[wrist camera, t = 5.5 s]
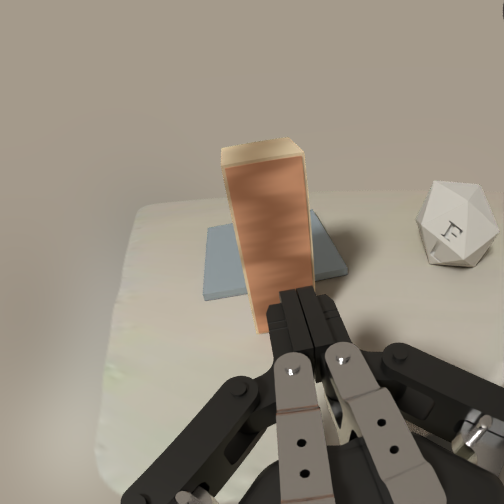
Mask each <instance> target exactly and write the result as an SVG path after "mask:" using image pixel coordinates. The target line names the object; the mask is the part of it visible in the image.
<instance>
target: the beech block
mask: <svg viewBox="0 0 504 504" xmlns="http://www.w3.org/2000/svg"><path fill="white" fill-rule="evenodd" d="M221 168H222V173H223V178H224V183H225V188H226V193H227V198H228V203H229V207H230V212H231V217H232V222H233V227H234V231H235V236H236V241H237V246H238V250H239V255H240V260H241V264H242V269H243V274H244V278H245V283H246V288H247V292H248V297H249V302H250V306H251V311H252V315H253V320H254V324H255V329H256V333H257V334H262V333H268V332H269V329H268V323H267V317H266V312H267V310H268V307H269V305H272V304H278V303H280V299H279V291H284V290H290V289H295V290H296V288H300V287H305V286H310V285H312V286H313V288H314V291H315V275H314V258H313V243H312V230H311V217H310V205H309V194H308V184H307V174H306V164H305V155H304V151H303V150H301V148H299V147H298V146H297V145H296V144H295V143H294V142H293V141H292V140H291V139H290V138H289V137H285V138H278V139H272V140H265V141H259V142H253V143H247V144H241V145H235V146H230V147H225V148H222V149H221Z"/></svg>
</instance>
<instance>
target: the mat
mask: <svg viewBox="0 0 504 504" xmlns="http://www.w3.org/2000/svg"><path fill="white" fill-rule="evenodd" d="M310 217H311V230H312V243H313V258H314V275H315V281H318V280H323V279H328V278H333V277H338V276H343V275H347V271H348V268H347V266H346V264H345V263H344V261H343V259H342V257H341V256H340V254H339V252H338V251H337V249H336V247H335V246H334V244H333V242H332V241H331V239H330V237H329V236H328V234H327V232H326V231H325V229H324V227H323V226H322V224H321V223H320V221H319V219H318V218H317V216H316V215H315V213H314V211H313V210H312V209H311V210H310ZM243 294H248V292H247V288H246V283H245V278H244V274H243V269H242V264H241V260H240V255H239V250H238V246H237V241H236V236H235V231H234V227H233V223H232V224H226V225H221V226H216V227H210V228H208V232H207V244H206V257H205V270H204V285H203V296H204V300H205V301H207V300H213V299H219V298H225V297H231V296H237V295H243Z"/></svg>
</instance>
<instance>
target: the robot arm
mask: <svg viewBox="0 0 504 504" xmlns="http://www.w3.org/2000/svg"><path fill="white" fill-rule="evenodd" d="M503 17H504V4H503ZM279 299H280V303H278V304H272V305H269V307H268V310H267V312H266V317H267V323H268V329H269V334H270V340H271V346H272V351H273V357H274V361H273V365H272V367H271V368H270V369H269V370H268V371H267V372H266V373H265V374H263V375H261V376H259V377H257V378H255V379H251V378H249V377H246V376H236V377H233V378H230V379H229V380H227V381H226V382H225V383H224V384H223V385H222V386H221V387H220V389H219V390H218V391H217V392H216V393H215V394H214V396H213V397H212V398H211V399H210V400H209V401H208V403H207V404H206V405H205V406H204V407H203V408H202V410H201V411H200V412H199V413H198V414H197V415H196V416H195V417H194V419H193V420H192V421H191V422H190V423H189V424H188V425H187V427H186V428H185V429H184V430H183V431H182V432H181V433H180V434H179V435H178V437H177V438H176V439H175V440H174V441H173V442H172V443H171V444H170V445H169V446H168V447H167V449H166V450H165V451H164V452H163V453H162V454H161V455H160V456H159V457H158V458H157V459H156V460H155V461H154V462H153V464H152V465H151V466H150V467H149V468H148V469H147V470H146V471H145V472H144V473H143V474H142V475H141V476H140V477H139V478H138V479H137V480H136V481H135V482H134V483H133V484H132V485H131V486H130V487H129V488H128V489H127V490H126V491H125V493H124V494H123V496H122V498H121V504H219V503H218V501H217V500H216V499H215V498H214V497H215V496H216V495H217V493H218V492H219V491H220V490H221V489H222V487H223V486H224V485H225V484H226V482H227V481H228V480H229V479H230V477H231V476H232V475H233V474H234V472H235V471H236V470H237V468H238V467H239V466H240V465H241V463H242V462H243V461H244V459H245V458H246V457H247V455H248V454H249V453H250V451H251V450H252V449H253V447H254V446H255V445H256V443H257V442H258V441H259V439H260V438H261V436H262V435H263V434H264V432H265V431H266V429H267V427H269V426H271V425H273V424H275V423H276V424H277V440H278V456H279V460H277V461H275V462H274V463H272V464H271V465H269V466H268V467H267V468H265V469H264V470H263V471H262V472H261V473H260V474H259V475H258V477H257V478H256V479H255V481H254V482H253V484H252V485H251V487H250V488H249V489H248V491H247V492H246V494H245V495H244V496H243V498H242V499H241V501H240V502H239V503H238V504H504V486H503V484H502V482H501V480H500V479H499V478H498V476H499V474H500V472H501V469H502V467H503V465H504V388H503V387H501V386H498V385H496V384H494V383H491V382H489V381H487V380H485V379H482V378H480V377H478V376H476V375H474V374H471V373H469V372H467V371H465V370H462V369H460V368H458V367H456V366H454V365H451V364H449V363H447V362H445V361H442V360H440V359H438V358H436V357H434V356H431V355H429V354H427V353H425V352H423V351H421V350H418V349H416V348H414V347H412V346H410V345H407V344H405V343H393V344H390V345H389V346H387V347H386V348H385V349H384V351H383V352H367V351H363V350H360V349H359V348H358V347H357V346H355V345H354V344H353V343H352V342H351V340H350V338H349V335H348V333H347V331H346V328H345V326H344V324H343V321H342V319H341V317H340V314H339V312H338V311H337V308H336V305H335V303H334V301H333V300H332V299H331V298H330V297H328V296H327V295H326V294H324V295H319V296H316V293H315V291H314V288H313V286H312V285H310V286H305V287H300V288H296V290H295V289H290V290H284V291H279ZM314 378H315V381H316V383H319V382H322V383H323V387H324V397H325V400H326V403H327V406H328V408H329V411H330V414H331V416H332V419H333V421H334V424H335V427H336V429H337V432H338V436H339V443H340V445H339V446H326V441H325V434H324V428H323V422H322V416H321V410H320V407H319V406H318V401H317V395H316V389H315V383H314ZM404 419H405V420H407V421H409V422H411V423H413V424H415V425H417V426H418V427H420V428H422V429H424V430H426V431H428V432H430V433H432V434H434V435H436V436H438V437H440V438H442V439H444V440H446V441H449V442H451V443H452V450H453V452H454V453H452V452H451V451H448V450H447V449H445V448H443V447H441V446H439V445H437V444H435V443H434V442H432V441H430V440H428V439H427V438H425V437H423V436H421V435H419V434H416V433H414V432H410V430H409V428H408V426H407V424H406V422H405V420H404Z"/></svg>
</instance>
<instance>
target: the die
mask: <svg viewBox="0 0 504 504" xmlns="http://www.w3.org/2000/svg"><path fill="white" fill-rule="evenodd" d="M416 222H417V225H418V228H419V231H420V234H421V237H422V240H423V244H424V247H425V250H426V253H427V257H428V260H429V264H436V265H450V266H464V267H475V266H476V264H477V263H478V262H479V260H480V259H481V258H482V256H483V255H484V253H485V252H486V251H487V249H488V248H489V246H490V245H491V244H492V242H493V241H494V239H495V238H496V236H497V235H498V233H499V232H500V231H499V228H498V225H497V223H496V220H495V218H494V215H493V213H492V210H491V208H490V206H489V203H488V201H487V199H486V196H485V194H484V192H483V190H482V188H481V185H478V184H468V183H459V182H447V181H436V180H435V181H434V182H433V184H432V186H431V188H430V190H429V192H428V195H427V197H426V199H425V201H424V203H423V205H422V207H421V209H420V211H419V213H418V215H417V217H416Z"/></svg>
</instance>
